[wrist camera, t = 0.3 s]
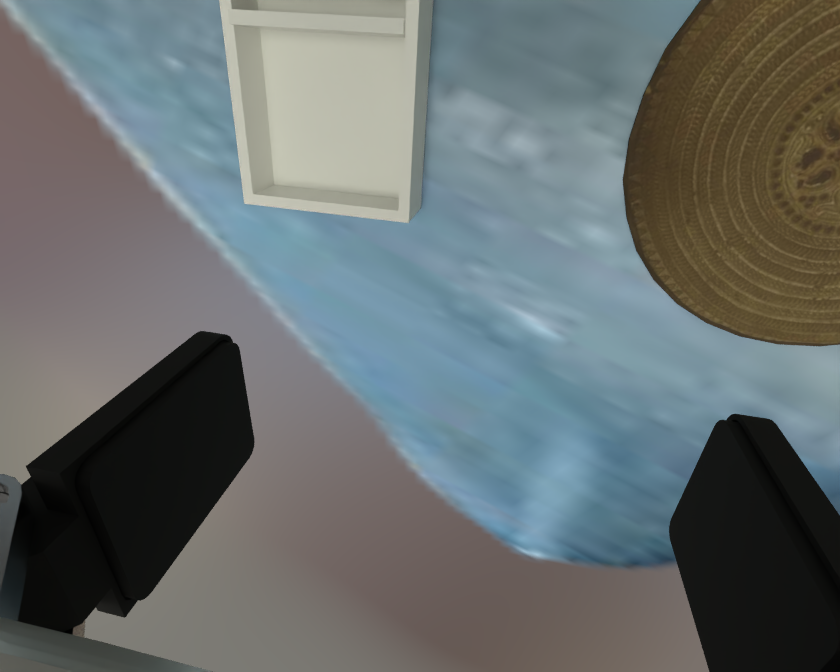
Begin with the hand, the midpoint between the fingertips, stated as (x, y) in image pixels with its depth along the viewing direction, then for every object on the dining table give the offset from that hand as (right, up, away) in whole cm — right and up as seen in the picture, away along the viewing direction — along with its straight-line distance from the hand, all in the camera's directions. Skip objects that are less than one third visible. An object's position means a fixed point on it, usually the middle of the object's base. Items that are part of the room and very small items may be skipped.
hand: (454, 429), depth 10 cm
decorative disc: (+29, +14, +22) cm, 39 cm away
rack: (-6, +23, +24) cm, 34 cm away
